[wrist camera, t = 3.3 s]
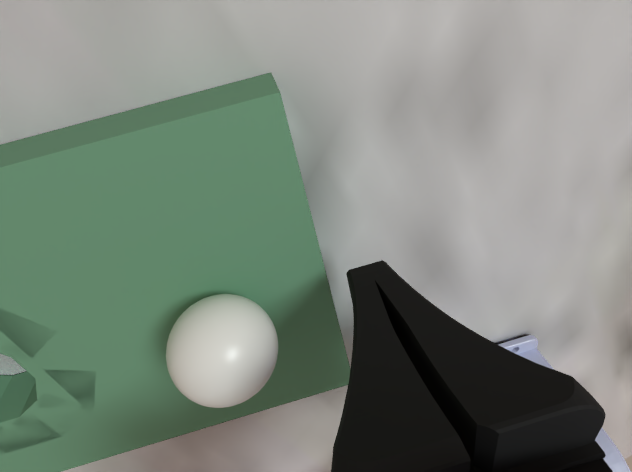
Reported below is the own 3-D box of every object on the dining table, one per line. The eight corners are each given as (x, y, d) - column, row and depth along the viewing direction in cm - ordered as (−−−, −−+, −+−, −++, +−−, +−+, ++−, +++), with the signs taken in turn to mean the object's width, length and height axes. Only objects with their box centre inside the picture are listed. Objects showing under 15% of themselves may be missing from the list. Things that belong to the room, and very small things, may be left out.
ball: (256, 260, 13) (266, 342, 10) (283, 327, 15) (296, 410, 12) (154, 289, 13) (134, 381, 10) (195, 352, 15) (188, 443, 12)
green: (271, 72, 12) (293, 122, 8) (341, 343, 20) (369, 433, 16) (-329, 232, 11) (-624, 372, 7) (-3, 446, 20) (-60, 565, 16)
